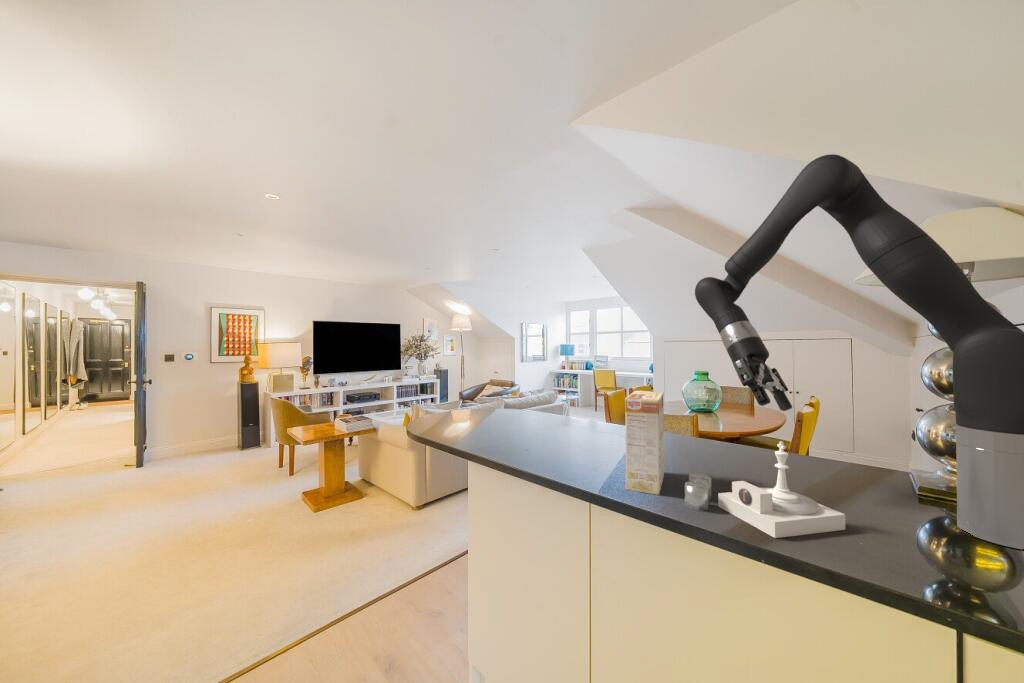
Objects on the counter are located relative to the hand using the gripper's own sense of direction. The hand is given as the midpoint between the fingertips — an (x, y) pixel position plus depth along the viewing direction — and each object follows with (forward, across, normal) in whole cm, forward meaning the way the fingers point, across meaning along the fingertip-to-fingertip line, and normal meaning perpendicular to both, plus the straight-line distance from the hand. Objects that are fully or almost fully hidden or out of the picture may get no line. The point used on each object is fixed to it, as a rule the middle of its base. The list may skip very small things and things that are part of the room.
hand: (776, 407), depth 80 cm
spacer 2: (+17, -19, +14) cm, 29 cm away
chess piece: (+18, -10, +2) cm, 21 cm away
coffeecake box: (+10, -17, +25) cm, 32 cm away
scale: (+21, -11, +4) cm, 24 cm away
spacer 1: (+15, -14, +15) cm, 26 cm away
